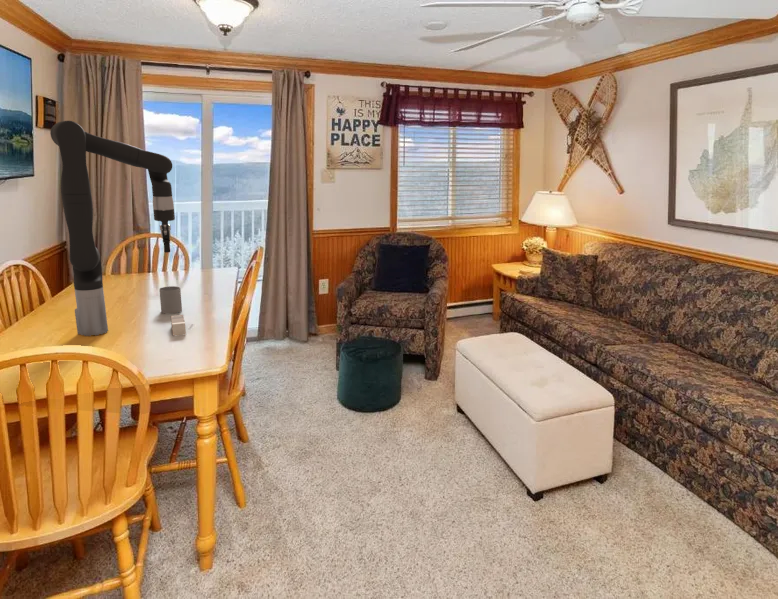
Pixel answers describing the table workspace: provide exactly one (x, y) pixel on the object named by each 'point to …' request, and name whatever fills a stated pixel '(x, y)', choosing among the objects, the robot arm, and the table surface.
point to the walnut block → (178, 325)
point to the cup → (170, 299)
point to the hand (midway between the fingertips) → (167, 252)
